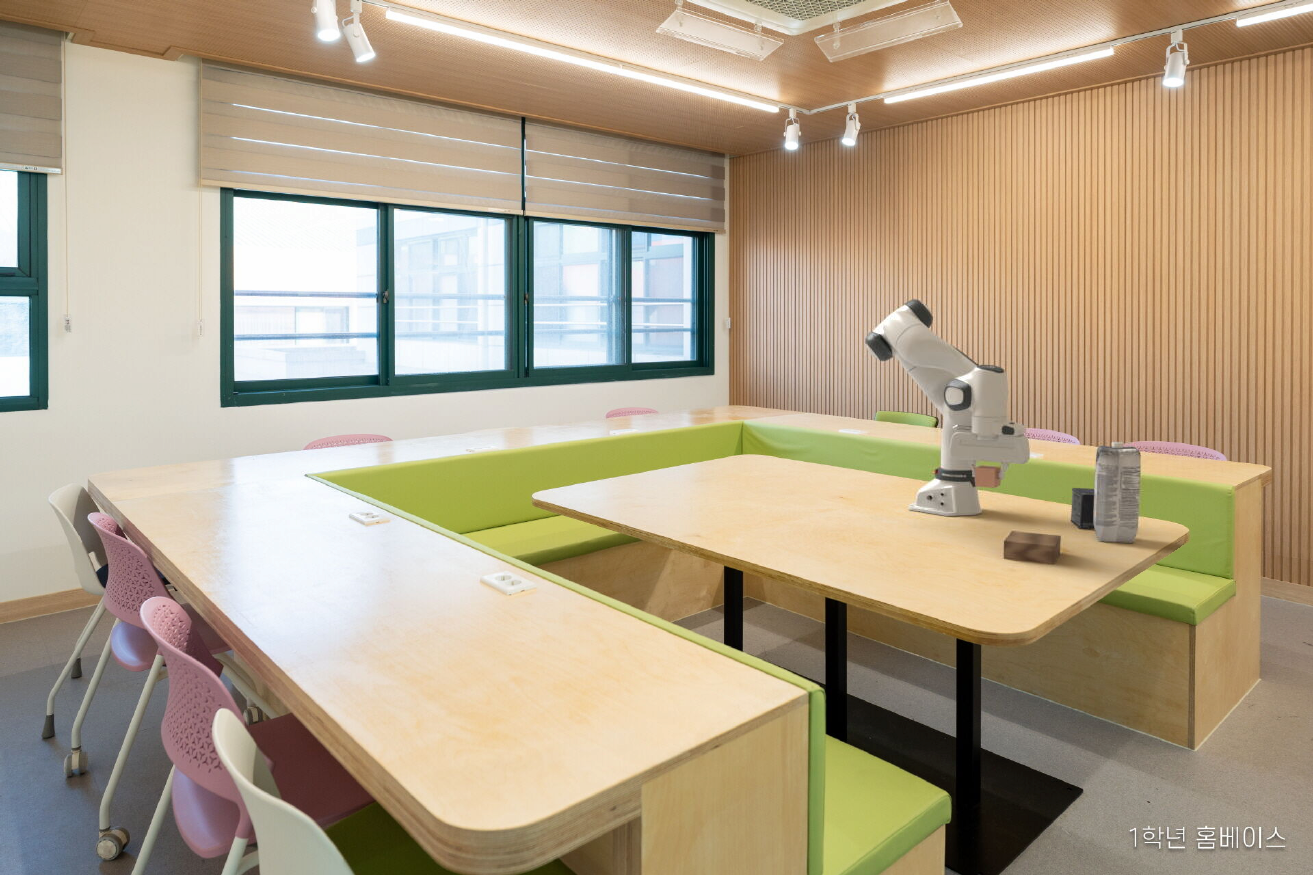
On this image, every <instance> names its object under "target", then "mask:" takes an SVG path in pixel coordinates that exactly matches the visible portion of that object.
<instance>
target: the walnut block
mask: <svg viewBox="0 0 1313 875" xmlns="http://www.w3.org/2000/svg"><path fill="white" fill-rule="evenodd" d="M1061 538H1062V536H1061V535H1057V534H1046V533H1035V532H1024V531H1015V530H1011V531H1010V533H1009V534H1008V535H1007V536H1006V538H1005V539H1004V540H1003V559H1005V560H1011V561H1012V560H1014V561H1021V562H1031V563H1038V564H1039V563H1040V564H1048V565H1049V564H1050V565H1055V564H1056V562H1057V560H1058V558H1059V556H1060V555H1061V542H1062V540H1061Z"/></svg>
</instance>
